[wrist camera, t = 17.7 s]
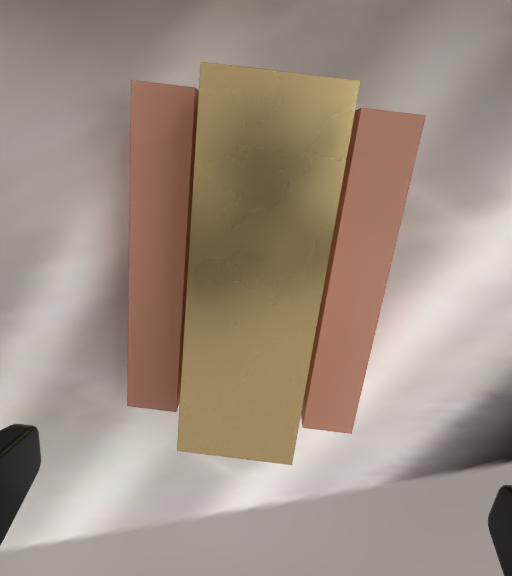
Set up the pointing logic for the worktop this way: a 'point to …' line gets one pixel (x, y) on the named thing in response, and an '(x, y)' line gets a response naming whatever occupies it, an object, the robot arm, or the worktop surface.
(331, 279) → the rust cradle
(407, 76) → the worktop surface
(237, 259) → the brass block
